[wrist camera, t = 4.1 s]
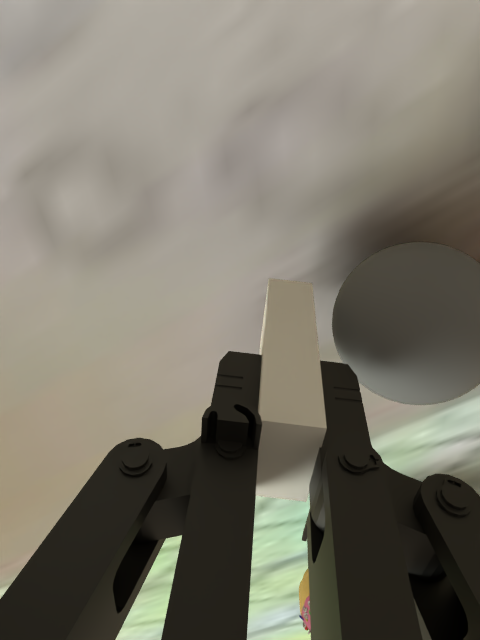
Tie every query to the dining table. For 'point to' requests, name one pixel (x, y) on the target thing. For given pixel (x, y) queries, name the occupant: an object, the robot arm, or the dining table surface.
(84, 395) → the dining table surface
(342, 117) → the dining table surface
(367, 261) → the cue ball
